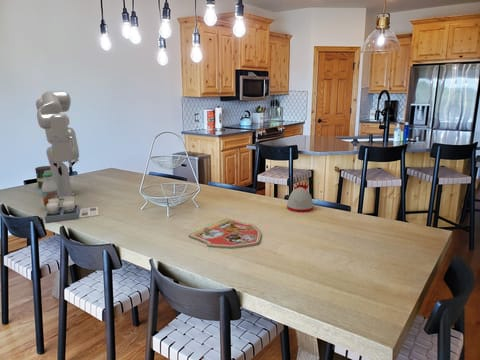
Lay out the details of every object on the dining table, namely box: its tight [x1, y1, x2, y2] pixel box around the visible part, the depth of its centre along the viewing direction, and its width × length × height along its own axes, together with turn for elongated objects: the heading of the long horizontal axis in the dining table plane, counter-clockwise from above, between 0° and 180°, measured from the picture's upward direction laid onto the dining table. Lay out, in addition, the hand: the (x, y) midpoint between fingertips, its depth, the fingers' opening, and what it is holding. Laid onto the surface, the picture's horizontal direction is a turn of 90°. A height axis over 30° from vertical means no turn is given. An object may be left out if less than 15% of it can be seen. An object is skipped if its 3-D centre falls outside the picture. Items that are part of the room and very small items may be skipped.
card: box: [78, 206, 99, 219], centre depth 189 cm, size 14×9×1 cm, turn 22°
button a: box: [48, 198, 61, 208], centre depth 185 cm, size 5×5×5 cm
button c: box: [46, 202, 59, 214], centre depth 179 cm, size 5×5×5 cm
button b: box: [63, 196, 76, 205], centre depth 188 cm, size 5×5×5 cm
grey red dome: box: [286, 181, 314, 213], centre depth 190 cm, size 14×14×15 cm
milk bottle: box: [41, 173, 61, 211], centre depth 195 cm, size 8×8×20 cm
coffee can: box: [34, 165, 51, 191], centre depth 239 cm, size 10×10×14 cm
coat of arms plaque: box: [187, 217, 262, 249], centre depth 157 cm, size 29×30×4 cm
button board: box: [44, 204, 80, 224], centre depth 184 cm, size 15×15×3 cm
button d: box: [62, 200, 75, 212], centre depth 181 cm, size 5×5×5 cm
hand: (65, 174), depth 184 cm, fingers open, 3 cm apart
